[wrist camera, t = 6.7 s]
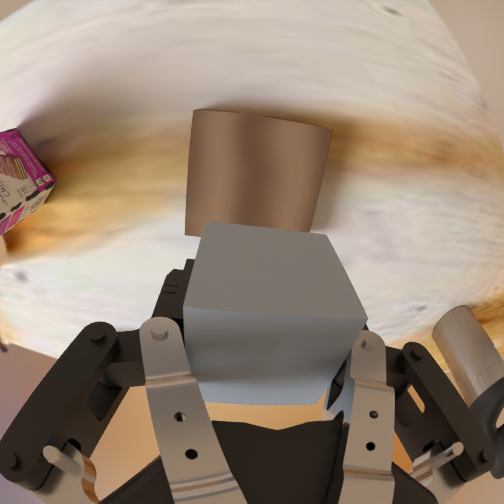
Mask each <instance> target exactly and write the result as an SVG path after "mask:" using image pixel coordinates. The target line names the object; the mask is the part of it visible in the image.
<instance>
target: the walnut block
mask: <svg viewBox="0 0 504 504" xmlns="http://www.w3.org/2000/svg"><path fill="white" fill-rule="evenodd" d="M332 131H333V130H330V129H327V128H325V127H322V126H317V125H312V124H308V123H303V122H298V121H292V120H287V119H281V118H275V117H269V116H262V115H255V114H247V113H239V112H230V111H219V110H207V109H197V110H193V119H192V129H191V139H190V151H189V163H188V178H187V194H186V216H185V235H188V236H198V237H202V233H203V230H204V226H205V223H206V221H211V222H220V223H230V224H240V225H249V226H258V227H267V228H275V229H284V230H292V231H300V232H308V233H309V231H310V227H311V223H312V219H313V215H314V211H315V207H316V203H317V199H318V195H319V190H320V186H321V182H322V177H323V173H324V169H325V164H326V159H327V155H328V150H329V145H330V141H331V136H332Z"/></svg>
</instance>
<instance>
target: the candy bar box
mask: <svg viewBox="0 0 504 504" xmlns="http://www.w3.org/2000/svg"><path fill="white" fill-rule="evenodd" d="M56 183H57V181H56V180H55V179H54V178H53V176H52V175H51V174H50V173H49V172H48V170H47V169H46V168H45V167H44V165H43V164H42V163H41V162H40V160H39V159H38V158H37V157H36V155H35V154H34V153H33V151H32V150H31V149H30V147H29V146H28V145H27V143H26V142H25V141H24V139H23V138H22V136H21V135H20V134H19V132H18V131H17V129H16V128H14V129H10V130H7V131H3V132H0V237H1V236H2V235H3V234H5V233H6V232H7V231H9V230H10V229H11V228H13V227H14V226H15V225H16V224H18V223H19V222H20V221H22V220H23V219H24V218H26V217H27V216H29V215H30V214H31V213H33V212H34V211H36V210H37V209H38V208H40V207H41V206H42V205H43V204H44V202H45V201H46V199H47V197H48V195H49V194H50V192H51V191H52V189H53V188H54V186H55V184H56Z"/></svg>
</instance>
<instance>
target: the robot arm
mask: <svg viewBox="0 0 504 504" xmlns="http://www.w3.org/2000/svg"><path fill="white" fill-rule="evenodd" d="M194 262H195V259H187V260H186V264H185V267H184V270H178V269H173V270H172V271H171V272H170V273H169V274H168V275H167V276H166V278H165V281H164V284H163V286H162V289H161V293H160V295H159V297H158V300H157V303H156V306H155V309H154V311H153V314H152V317H151V318H150V319H148V320H147V321H145V322H144V323H143V324H142V325H141V327H140V329H137V330H133V331H125V332H116V330H115V328H114V327H113V326H112V325H111V324H109V323H106V322H94V323H91V324H89V325H87V326H86V327H85V328H84V329H83V330H82V331H81V332H80V333H79V334H78V336H77V337H76V338H75V339H74V340H73V342H72V343H71V344H70V345H69V346H68V348H67V349H66V350H65V351H64V353H63V354H62V355H61V356H60V358H59V359H58V360H57V361H56V363H55V364H54V365H53V367H52V368H51V369H50V370H49V372H48V373H47V374H46V376H45V377H44V378H43V380H42V381H41V382H40V384H39V385H38V386H37V388H36V389H35V390H34V392H33V393H32V394H31V396H30V397H29V399H28V400H27V402H26V403H25V404H24V406H23V407H22V409H21V410H20V411H19V413H18V414H17V416H16V417H15V419H14V420H13V422H12V423H11V425H10V426H9V428H8V429H7V431H6V433H5V434H4V436H3V437H2V439H1V441H0V473H1V474H2V475H3V476H4V477H5V478H6V479H7V480H9V481H11V482H13V483H15V484H17V485H19V486H21V487H22V488H24V489H26V490H28V491H31V492H33V493H34V494H36V495H37V496H38V497H39V498H41V499H42V500H43V501H44V502H46V503H47V504H444V503H445V502H446V501H447V500H448V499H450V498H451V497H452V496H453V495H454V494H455V493H456V492H457V491H458V490H459V489H460V488H461V487H462V486H463V485H464V484H466V483H468V482H470V481H471V480H474V479H475V478H477V477H479V476H481V475H483V474H484V473H486V472H488V471H489V470H490V472H491V474H492V476H493V477H494V478H496V479H500V478H503V477H504V424H503V425H502V426H500V427H499V428H496V422H497V419H498V417H499V415H500V413H501V411H502V409H503V407H504V361H503V360H502V358H501V356H500V355H499V353H498V351H497V350H496V348H495V347H494V344H493V342H492V340H491V339H490V337H489V336H488V334H487V333H486V331H485V330H484V329H483V327H482V326H481V324H480V323H479V321H478V320H477V319H476V317H475V316H474V314H473V313H472V312H470V310H469V309H468V308H467V307H466V306H460V307H457V308H455V309H453V310H451V311H450V312H448V313H447V314H446V315H445V316H444V317H443V318H442V319H441V320H440V321H439V322H438V324H437V325H436V327H435V328H434V331H433V334H432V336H433V339H434V341H435V343H436V345H437V346H438V348H439V350H440V352H441V354H442V356H443V358H444V359H445V361H446V363H447V365H448V367H449V369H450V371H451V373H452V375H453V377H454V379H455V381H456V383H457V385H458V387H459V389H460V391H461V393H462V395H463V397H464V400H465V402H466V403H465V402H464V400H463V399H462V397H461V396H460V394H459V393H458V391H457V390H456V388H455V387H454V386H453V384H452V383H451V381H450V380H449V379H448V377H447V376H446V374H445V373H444V372H443V370H442V369H441V368H440V366H439V365H438V364H437V362H436V361H435V360H434V358H433V357H432V356H431V354H430V353H429V352H428V350H427V349H426V348H425V347H424V346H422V345H421V344H419V343H416V342H408V343H406V344H405V345H404V347H403V348H402V350H400V349H396V348H392V347H388V346H385V343H384V341H383V340H382V338H381V337H380V336H379V335H377V334H376V333H374V332H372V331H369V329H368V327H367V325H366V323H365V325H364V327H363V329H362V331H361V333H360V335H359V336H358V338H357V340H356V342H355V343H354V345H353V347H352V349H351V350H350V352H349V354H348V356H347V357H346V359H345V361H344V362H343V364H342V366H341V367H340V369H339V370H338V372H337V374H336V375H335V377H334V378H333V380H332V381H331V383H330V384H329V386H328V388H327V393H326V398H325V403H324V408H323V413H322V416H321V418H320V420H319V421H313V422H306V423H303V424H300V425H296V426H293V427H289V428H285V429H281V430H274V429H269V428H265V427H260V426H256V425H252V424H248V423H244V422H225V421H212V422H211V420H210V418H209V415H208V412H207V409H206V407H205V404H204V400H203V397H202V394H201V391H200V388H199V385H198V382H197V379H196V377H195V375H194V374H192V372H191V368H190V365H189V362H188V358H187V355H186V351H185V338H184V318H183V305H184V301H185V296H186V293H187V289H188V285H189V281H190V277H191V273H192V269H193V266H194ZM143 385H145V386H146V392H147V398H148V402H149V408H150V412H151V418H152V422H153V427H154V431H155V435H156V439H157V443H158V447H159V451H160V455H159V456H158V457H157V458H155V459H154V460H153V461H152V462H151V463H149V464H148V465H147V466H146V467H145V468H143V469H142V470H141V471H140V472H138V473H137V474H136V475H135V476H134V477H132V478H131V479H130V480H128V481H127V482H126V483H124V484H123V485H122V486H121V487H119V488H118V489H117V490H115V491H114V492H112V493H111V494H110V495H108V496H107V497H106V498H104V499H103V500H101V501H99V499H98V498H97V496H96V494H95V490H94V484H95V480H96V469H95V466H94V464H93V463H92V461H91V460H90V459H89V458H90V456H91V454H92V453H93V451H94V449H95V447H96V445H97V444H98V442H99V440H100V438H101V436H102V434H103V433H104V431H105V429H106V428H107V426H108V424H109V422H110V420H111V418H112V417H113V415H114V413H115V412H116V410H117V408H118V407H119V405H120V403H121V401H122V400H123V398H124V396H125V395H126V393H127V391H128V390H129V388H130V387H134V386H143ZM411 385H412V386H413V387H414V389H415V390H416V392H417V393H418V395H419V397H420V398H421V400H422V401H423V403H424V406H425V410H424V412H423V413H422V412H421V411H420V409H419V408H418V406H417V405H416V403H415V401H414V400H413V399H412V397H411V395H410V394H409V392H408V391H407V389H408V388H409V387H410V386H411ZM394 430H395V432H396V434H397V436H398V438H399V439H400V441H401V443H402V445H403V446H404V448H405V450H406V452H407V454H408V455H409V457H410V459H411V461H412V463H413V468H412V469H411V470H410V472H409V474H408V473H406V472H405V471H404V470H402V469H401V468H400V467H398V466H397V465H396V464H395V463H394V462H392V452H393V439H394Z"/></svg>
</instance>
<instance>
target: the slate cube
mask: <svg viewBox="0 0 504 504" xmlns="http://www.w3.org/2000/svg"><path fill="white" fill-rule="evenodd" d="M183 318H184V338H185V351H186V355H187V358H188V362H189V365H190V368H191V372H192V374H194V375H195V377H196V379H197V382H198V385H199V388H200V391H201V394H202V397H203V400H204V401H205V402H216V403H230V404H248V405H307V404H317V402H318V401H319V399H320V398H321V396H322V395H323V394H324V392H325V391H326V389H327V388H328V386H329V384H330V383H331V381H332V380H333V378H334V377H335V375H336V374H337V372H338V370H339V369H340V367H341V366H342V364H343V362H344V361H345V359H346V357H347V356H348V354H349V352H350V350H351V349H352V347H353V345H354V343H355V342H356V340H357V338H358V336H359V335H360V333H361V331H362V329H363V327H364V325H365V323H366V322H367V320H368V317H367V315H366V313H365V310H364V308H363V306H362V304H361V302H360V300H359V298H358V296H357V294H356V292H355V289H354V287H353V285H352V283H351V281H350V279H349V277H348V275H347V273H346V271H345V269H344V267H343V266H342V264H341V262H340V260H339V258H338V256H337V254H336V252H335V250H334V248H333V246H332V245H331V243H330V241H329V239H328V237H327V235H324V234H316V233H308V232H300V231H292V230H284V229H275V228H267V227H258V226H249V225H240V224H230V223H220V222H211V221H206V223H205V226H204V230H203V233H202V237H201V240H200V244H199V247H198V251H197V255H196V258H195V262H194V266H193V269H192V273H191V277H190V281H189V285H188V289H187V293H186V296H185V301H184V305H183Z"/></svg>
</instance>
